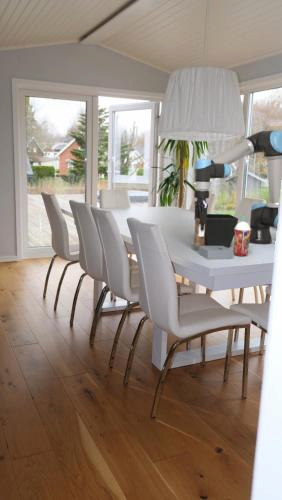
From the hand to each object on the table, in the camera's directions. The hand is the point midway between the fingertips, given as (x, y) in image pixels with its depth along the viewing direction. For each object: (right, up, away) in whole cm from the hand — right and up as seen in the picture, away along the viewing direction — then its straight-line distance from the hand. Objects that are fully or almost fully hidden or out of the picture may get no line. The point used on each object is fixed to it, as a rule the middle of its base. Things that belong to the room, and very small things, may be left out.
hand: (199, 235), depth 231 cm
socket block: (+7, -11, -8) cm, 15 cm away
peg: (0, -5, +1) cm, 5 cm away
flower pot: (+12, -5, +20) cm, 24 cm away
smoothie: (+20, -10, -4) cm, 23 cm away
